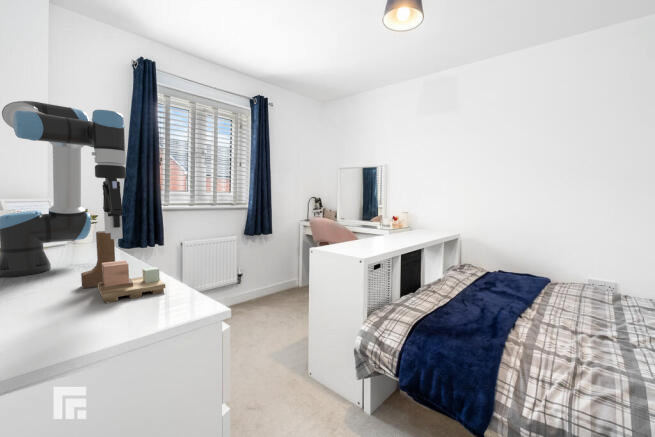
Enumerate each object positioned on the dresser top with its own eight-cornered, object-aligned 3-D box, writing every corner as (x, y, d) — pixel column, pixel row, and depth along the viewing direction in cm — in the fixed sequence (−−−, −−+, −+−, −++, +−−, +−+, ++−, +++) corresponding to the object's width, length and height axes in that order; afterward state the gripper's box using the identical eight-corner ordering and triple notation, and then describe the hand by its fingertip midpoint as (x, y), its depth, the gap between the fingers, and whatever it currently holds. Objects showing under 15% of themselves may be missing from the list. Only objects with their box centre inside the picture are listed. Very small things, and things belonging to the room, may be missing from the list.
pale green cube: (142, 280, 99) (142, 268, 99) (156, 278, 102) (156, 266, 102) (145, 283, 96) (145, 270, 96) (159, 280, 99) (159, 268, 99)
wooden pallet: (98, 291, 96) (97, 283, 96) (154, 281, 106) (154, 274, 106) (103, 303, 85) (102, 294, 85) (165, 291, 96) (165, 284, 96)
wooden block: (82, 289, 98) (79, 233, 96) (81, 285, 101) (78, 232, 99) (116, 283, 104) (113, 231, 102) (114, 280, 107) (111, 230, 106)
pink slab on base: (98, 286, 93) (97, 263, 92) (129, 281, 98) (128, 259, 97) (100, 291, 88) (99, 267, 87) (133, 286, 93) (132, 263, 93)
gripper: (90, 165, 97) (93, 231, 99) (99, 161, 78) (102, 242, 80) (119, 167, 102) (121, 229, 104) (133, 164, 83) (135, 240, 85)
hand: (113, 235), depth 92 cm, fingers open, 13 cm apart
